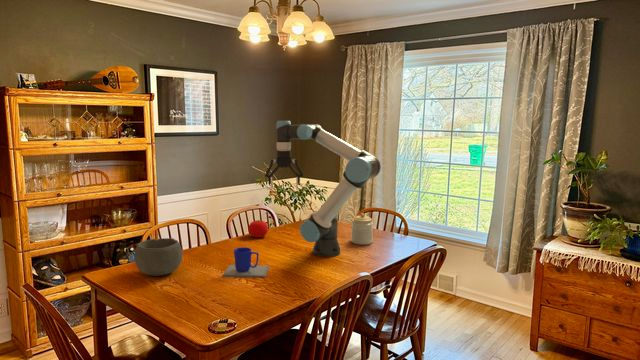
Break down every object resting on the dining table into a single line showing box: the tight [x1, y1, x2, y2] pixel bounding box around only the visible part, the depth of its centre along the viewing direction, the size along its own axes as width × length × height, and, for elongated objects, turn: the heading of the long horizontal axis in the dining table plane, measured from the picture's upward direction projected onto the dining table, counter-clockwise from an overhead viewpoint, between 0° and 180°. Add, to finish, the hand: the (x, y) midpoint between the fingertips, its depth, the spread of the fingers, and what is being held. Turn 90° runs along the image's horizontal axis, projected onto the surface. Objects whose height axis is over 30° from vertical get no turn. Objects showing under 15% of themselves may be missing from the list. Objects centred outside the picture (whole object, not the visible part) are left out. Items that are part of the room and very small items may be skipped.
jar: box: [350, 212, 374, 246], centre depth 258 cm, size 13×13×18 cm
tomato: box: [247, 219, 269, 239], centre depth 267 cm, size 11×12×10 cm
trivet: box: [221, 264, 270, 278], centre depth 207 cm, size 20×14×1 cm
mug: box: [233, 246, 260, 272], centre depth 206 cm, size 8×12×10 cm
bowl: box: [134, 237, 183, 277], centre depth 203 cm, size 21×21×15 cm
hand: (284, 189), depth 230 cm, fingers open, 13 cm apart
